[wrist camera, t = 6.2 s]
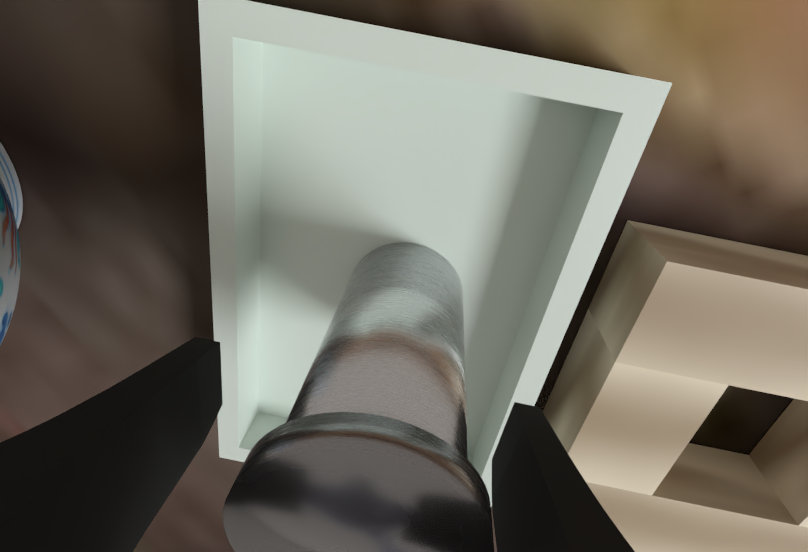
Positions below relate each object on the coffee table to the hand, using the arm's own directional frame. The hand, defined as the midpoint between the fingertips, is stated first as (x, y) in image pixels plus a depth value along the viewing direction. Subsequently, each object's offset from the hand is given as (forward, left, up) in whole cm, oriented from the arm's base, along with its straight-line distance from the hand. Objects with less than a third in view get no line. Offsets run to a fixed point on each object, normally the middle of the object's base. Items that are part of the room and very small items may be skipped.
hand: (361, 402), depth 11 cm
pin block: (-2, -13, -6) cm, 14 cm away
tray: (0, 0, -6) cm, 6 cm away
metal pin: (0, 0, -5) cm, 5 cm away
